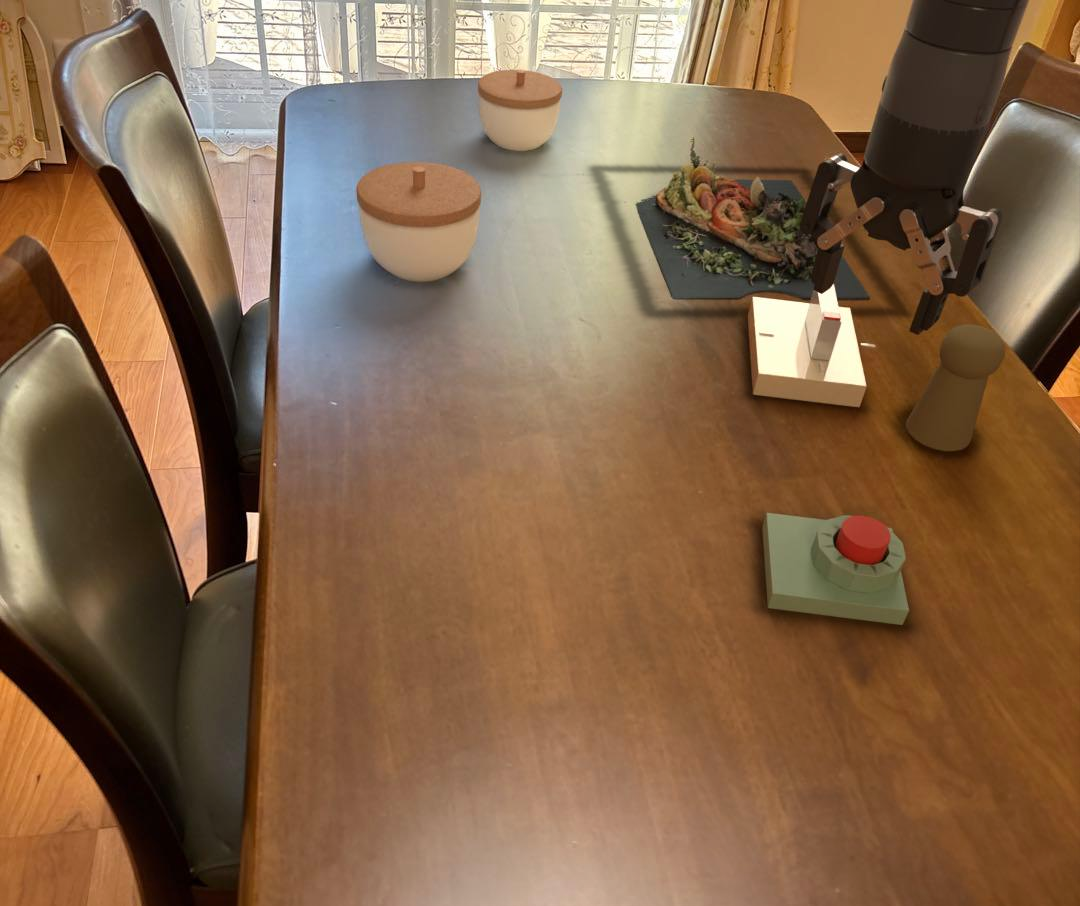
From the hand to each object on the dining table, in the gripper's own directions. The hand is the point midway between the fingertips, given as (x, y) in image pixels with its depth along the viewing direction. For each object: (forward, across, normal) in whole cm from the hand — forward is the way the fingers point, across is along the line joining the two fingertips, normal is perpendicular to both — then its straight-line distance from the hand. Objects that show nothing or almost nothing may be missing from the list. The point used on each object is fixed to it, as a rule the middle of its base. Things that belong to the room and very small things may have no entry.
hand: (869, 309), depth 82 cm
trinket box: (+14, +62, -28) cm, 69 cm away
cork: (+14, -7, -9) cm, 18 cm away
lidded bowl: (+14, +47, +4) cm, 49 cm away
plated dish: (+14, +27, -28) cm, 41 cm away
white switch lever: (+11, +7, -10) cm, 17 cm away
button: (+10, -10, +14) cm, 20 cm away
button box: (+14, -9, +15) cm, 22 cm away
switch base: (+14, +8, -10) cm, 19 cm away
